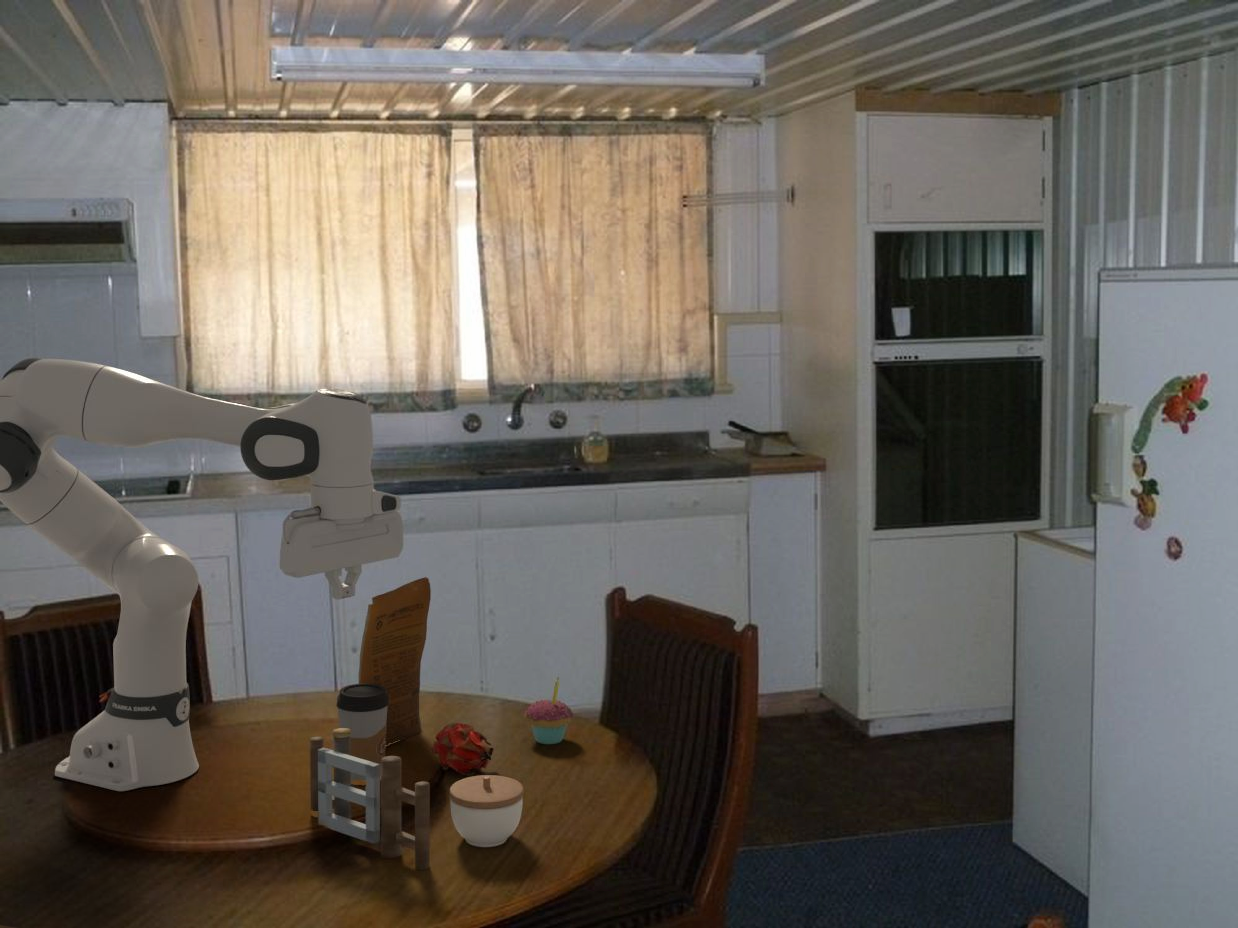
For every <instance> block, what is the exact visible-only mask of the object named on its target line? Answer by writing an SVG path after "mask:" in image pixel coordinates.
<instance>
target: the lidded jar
mask: <svg viewBox="0 0 1238 928" xmlns="http://www.w3.org/2000/svg"><path fill="white" fill-rule="evenodd" d="M524 791H525V790H524V786H523V784H522V783H521V782H519V780H516V779H514V778H512V777H508V776H502V775H495V774H491V775H490V774H482V775H472V776H468V777H465V778H462V779H460V780H459V779H458V780H457V781H455V782H454V783H453V784H452V785H451V786H450V788H449V798H450V801H449V802H450V814H451V819H452V823H453V825H454V827H455V830H456V831H457V832H458V834H459V835H460V836H461V837H462V838H464V839H465V842H466V843H467V844H468V845H470V846H473V847H478V848H492V847H497V846H498V847H499V846H501V845H503V844H504V843H506V842H508V841H507V840H508V838H510V836H511V835H512V834H513V833H515V831H516V829H517V828H518V826H519V823H520V820H521V817H522V812H523V811H522V810H523V798H524V797H523V796H524Z"/></svg>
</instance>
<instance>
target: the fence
mask: <svg viewBox="0 0 1238 928" xmlns="http://www.w3.org/2000/svg"><path fill="white" fill-rule="evenodd" d="M350 735H351V730H350V729H348V728H339V727H338V728H334V729H333V730H332V736H333V751H337V752H340V753H344V754H347V755H350ZM321 748H325V747H324V737H323V736H313V737H311V738H309V769H310V770H309V771H310V772H309V774H310V775H309V777H310V778H309V779H310V780H309V781H310V782H309V783H310V784H309V786H310V787H309V789H310V790H309V791H310V811H311V810H313V811H318V750H319V749H321ZM332 768H333V781H334V782H337V783H341V784H344V785H347V786H350V787H352V785H351V772H350V771H347V770H343V769H340V768H337V767H333V766H332ZM430 787H431V785H430V782H429V781H418V782H415V783H414V790H411V789H407V788H406V787H402V758H401V757H400V756H396V755H388V756H385V757H384V758H382V759H381V780H380V824H381V825H380V842H381V846H380V847H381V848H380V849H381V857H382V858H385V859H396V858H399V857H401V855H402V846H404V847H406V848H408V849H410V850H413V851H414V868H415V869H416V870H419V871H424V870H428V869H430V860H431V859H430V858H431V857H430V847H431V845H430V843H431V841H430V840H431V839H430V838H431V837H430V835H431V832H430V831H431V830H430V825H431V824H430V822H431V819H430V818H431V817H430V816H431V815H430V814H431V813H430V806H431V805H430V800H431V799H430V797H431V796H430V794H431V793H430V792H431V791H430V790H431V789H430ZM402 802H404V803H406V804H409V805H411V806H412V805H413V807H414V835H412V834H410V833H408V832H405V831H403V830H402ZM351 803H352V802H350V801H347V800H344V799H341V798H338V797H335V796H332V810H333V814H336V815H339V816H342V817H345V818H348V819H349V818H350V817H351V818H352V807H351V806H352V804H351Z"/></svg>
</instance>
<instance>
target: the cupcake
mask: <svg viewBox="0 0 1238 928" xmlns="http://www.w3.org/2000/svg"><path fill="white" fill-rule="evenodd" d="M559 678H560V676H557V679H556V680H555V682H554V687H553V695H552V700H550V699H541V700H536V701H535V702H533V703H532V704H530V705H529V706H528V707H527V709H525V713H524V717H523V720H524V721H525V723H527V724H528V725H530V728H531V730H532V732H533V736H534V739H535V741H536V742H537V743H538V744H543V745H555V744H559V743H561V742H562V741H563V738H564V735H565V734H566V733H565V732H566V730H567V728H568V725H569V724H571V723H572V719H573V718H574V712H573V711H572V710H571V708H570V707H569V706H568V705H566V703H565V702H562V701H560V700H558V699H557V697H558V693H559V692H558V691H559V684H560V681H559Z"/></svg>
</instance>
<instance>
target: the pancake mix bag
mask: <svg viewBox="0 0 1238 928" xmlns="http://www.w3.org/2000/svg"><path fill="white" fill-rule="evenodd" d="M431 593H432V589H431V583H430V579H429V578H428V577H427V576H426V577H425V576H424V577H421V578H418V579H415V580H413V581H410V582H408V583H404V584H403V585H401V586H399V587H397V588H395V589H393V590H390V591H386V592H385V593H381V594H377V595H375V596H373V597H371V601H372V603H371V604H368V607H367V613H366V618H365V623H364V630H363V634H362V637H361V638H362V639H361V645H360V650H359V651H360V653H359V665H358V666H359V668H358V684H363V683H368V684H377V685H381V686H383V687H384V688H385V690H386V693H387V694H388V701H389V704H388V706H387V721H386V725H387V730H386V745H388V744H389V743H393V742H395V741H398V740H401V741H403V740H405V739H404V738H406V739H408V738H410V737H412V736H415V735H418V734H420V733H421V732H422V723H421V717H420V693H421V692H420V691H421V689H420V688H421V687H420V686H421V666H422V665H421V663H422V657H423V654H424V649H425V645H426V640H427V629H428V626H427V625H428V618H429V617H428V616H429V610H430V605H431V599H432V598H431V595H432V594H431ZM402 739H403V740H402Z"/></svg>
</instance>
